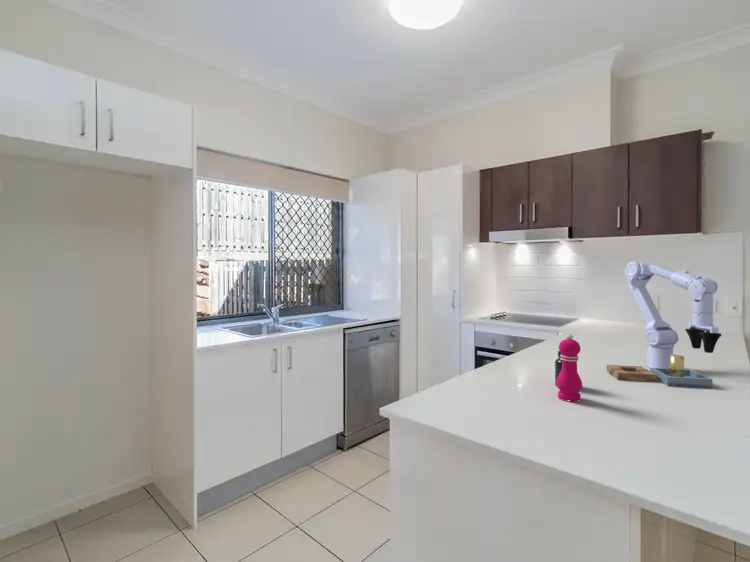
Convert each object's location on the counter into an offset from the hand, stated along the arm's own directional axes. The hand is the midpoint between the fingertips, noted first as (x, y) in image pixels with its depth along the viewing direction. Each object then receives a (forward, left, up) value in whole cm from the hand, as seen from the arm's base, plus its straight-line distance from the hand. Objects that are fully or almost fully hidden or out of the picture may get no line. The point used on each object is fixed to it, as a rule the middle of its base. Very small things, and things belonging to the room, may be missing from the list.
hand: (702, 350), depth 141 cm
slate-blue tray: (+5, -9, -10) cm, 15 cm away
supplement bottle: (+19, -49, -11) cm, 54 cm away
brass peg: (+5, -10, -9) cm, 14 cm away
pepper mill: (+32, -51, -11) cm, 61 cm away
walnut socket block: (+1, -23, -10) cm, 25 cm away
